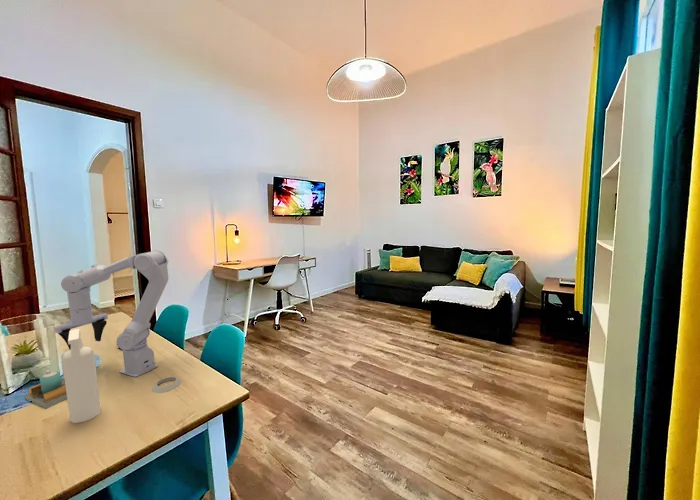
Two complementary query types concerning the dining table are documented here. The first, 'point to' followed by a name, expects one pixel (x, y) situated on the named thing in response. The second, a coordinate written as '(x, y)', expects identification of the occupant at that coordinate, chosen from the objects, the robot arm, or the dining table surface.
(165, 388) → the ring
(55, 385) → the spout can
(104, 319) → the robot arm
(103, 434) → the dining table surface
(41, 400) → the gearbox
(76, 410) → the white bottle
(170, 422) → the dining table surface
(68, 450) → the dining table surface
